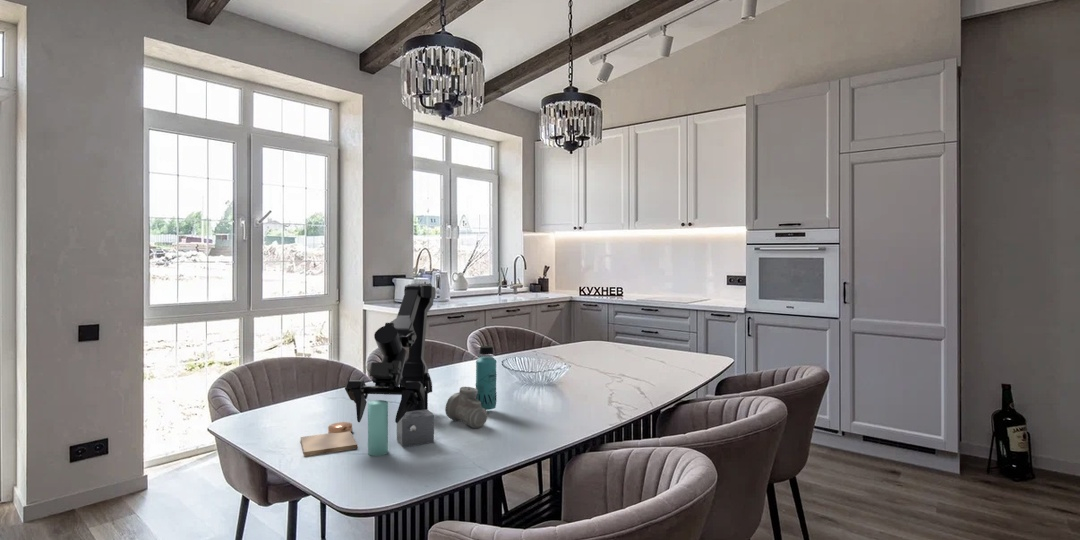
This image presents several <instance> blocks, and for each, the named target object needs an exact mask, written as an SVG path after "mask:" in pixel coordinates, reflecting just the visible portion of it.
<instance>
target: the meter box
mask: <svg viewBox="0 0 1080 540" xmlns="http://www.w3.org/2000/svg"><path fill="white" fill-rule="evenodd" d="M396 441H397V443H398V444H399V445H400V446H401V447H402V448H406V447H413V446H420V445H425V444H426V445H427V444H433V443H435V415H434V414H433V412H431V411H430V410H429V409H425V410H417V411H409V412H406V413H405V415H404V416H403V417H402V418H401V420H400V421H399V422H398V423H396Z"/></svg>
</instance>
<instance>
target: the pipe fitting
mask: <svg viewBox="0 0 1080 540" xmlns="http://www.w3.org/2000/svg"><path fill="white" fill-rule="evenodd" d="M477 391H478V390H477V389H476V387H475V388H474V387H471V386H461V387H459V391H458V392H456V393H453V394H452V395H451V396H450V397H448V399H447V401H446V404H445V408H444V411H445V415H446V416H447V418H449V419H450V420H452V421H453V422H463V423H465V424H466V425H467V426H469V427H471V428H473V429H480V428H482V427H484V425H485V424H486V423H487V421H488V410H485V409H484V408H483V407H481V402H480V401H479V400H477V399H476V395H477Z"/></svg>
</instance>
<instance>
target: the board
mask: <svg viewBox="0 0 1080 540" xmlns="http://www.w3.org/2000/svg"><path fill="white" fill-rule="evenodd" d="M300 444H301V448H302V453H303V456H304V457H310V456H314V455H315V456H316V455H322V454H329V453H335V452H336V453H337V452H344V451H349V450H355V449H358V443H357V441H356V439H355V438H354V435H353V432H352V433H351V432H350V431H343V432H336V433H328V432H327V433H322V434H321V433H320V434H314V435H306V436H300Z"/></svg>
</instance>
